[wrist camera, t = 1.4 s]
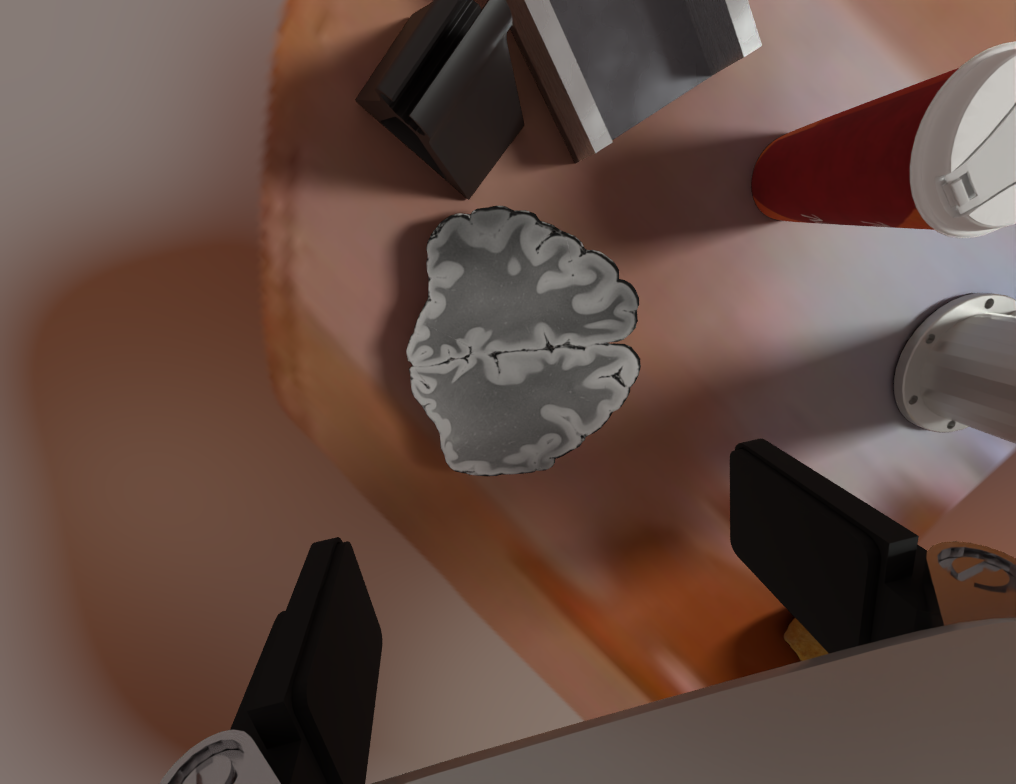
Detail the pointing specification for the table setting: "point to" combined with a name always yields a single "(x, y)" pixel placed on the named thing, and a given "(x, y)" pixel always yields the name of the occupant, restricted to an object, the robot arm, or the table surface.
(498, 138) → the phone stand
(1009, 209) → the coffee cup
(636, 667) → the table surface
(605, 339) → the brain slice
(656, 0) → the guide cradle
